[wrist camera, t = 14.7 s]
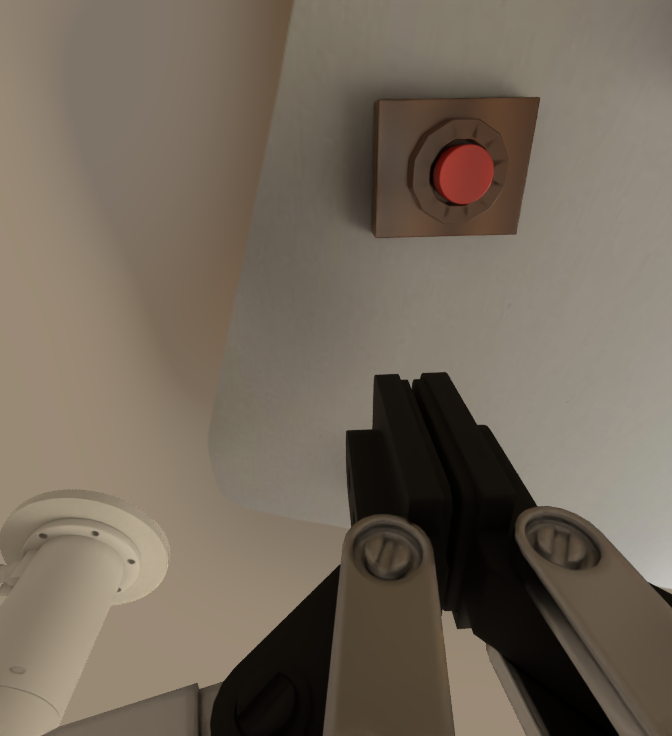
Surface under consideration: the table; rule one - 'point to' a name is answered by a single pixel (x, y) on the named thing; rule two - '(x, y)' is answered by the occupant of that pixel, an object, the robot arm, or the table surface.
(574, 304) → the table surface
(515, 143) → the button block
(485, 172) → the button
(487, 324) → the table surface
